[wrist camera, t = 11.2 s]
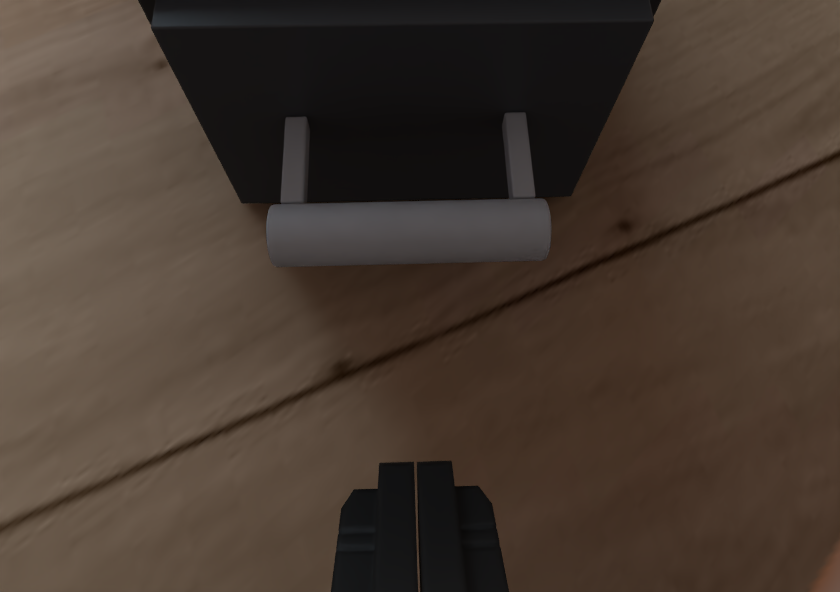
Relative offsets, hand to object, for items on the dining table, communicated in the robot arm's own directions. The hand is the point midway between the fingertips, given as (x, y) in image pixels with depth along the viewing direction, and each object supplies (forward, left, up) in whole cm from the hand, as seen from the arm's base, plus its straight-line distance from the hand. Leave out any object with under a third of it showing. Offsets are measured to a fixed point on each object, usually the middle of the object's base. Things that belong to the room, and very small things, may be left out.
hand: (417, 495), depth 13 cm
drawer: (+13, -7, -5) cm, 15 cm away
